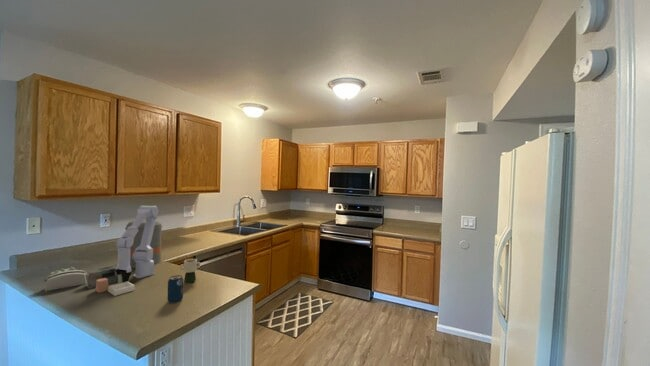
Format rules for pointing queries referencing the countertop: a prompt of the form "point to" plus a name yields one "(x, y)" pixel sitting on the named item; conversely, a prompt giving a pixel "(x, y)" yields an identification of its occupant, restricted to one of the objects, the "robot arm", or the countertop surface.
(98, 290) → the terracotta block
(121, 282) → the sage green block
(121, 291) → the off-white tray
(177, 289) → the soda can
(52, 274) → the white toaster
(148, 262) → the robot arm
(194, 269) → the character mug
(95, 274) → the grey unit
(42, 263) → the countertop surface
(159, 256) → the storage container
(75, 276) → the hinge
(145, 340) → the countertop surface
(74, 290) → the countertop surface
